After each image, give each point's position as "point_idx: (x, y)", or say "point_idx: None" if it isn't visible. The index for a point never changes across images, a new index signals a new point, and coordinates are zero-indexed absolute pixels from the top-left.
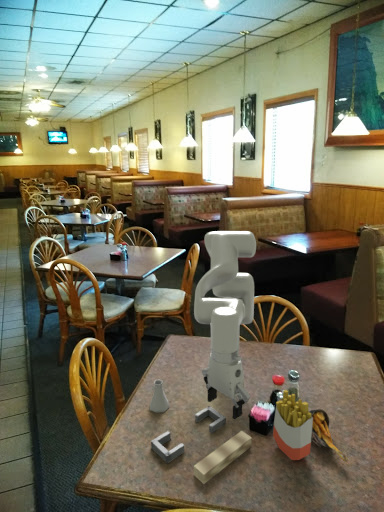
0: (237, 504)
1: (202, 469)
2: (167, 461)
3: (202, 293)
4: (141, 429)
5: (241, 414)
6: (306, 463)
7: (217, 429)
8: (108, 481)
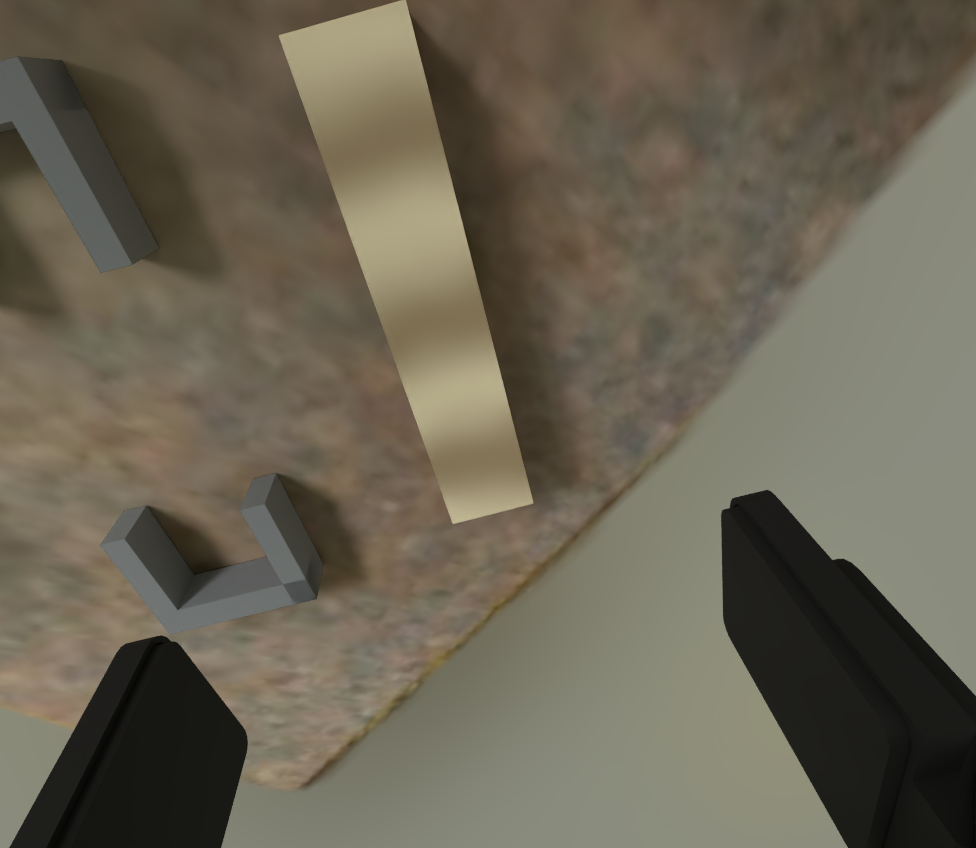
0: (710, 381)
1: (498, 495)
2: (320, 571)
3: None
4: (15, 608)
5: (843, 567)
6: None
7: (123, 181)
8: (324, 742)
